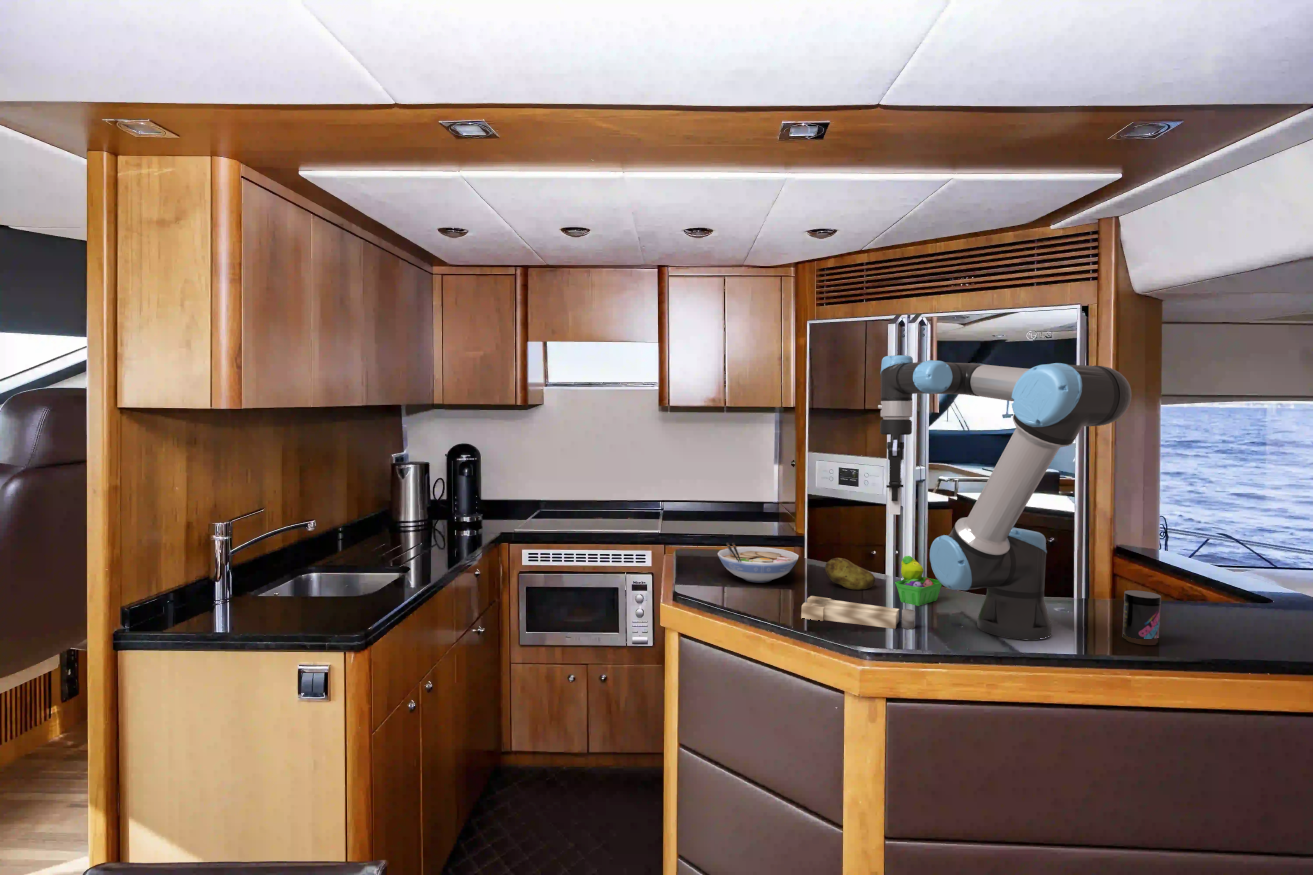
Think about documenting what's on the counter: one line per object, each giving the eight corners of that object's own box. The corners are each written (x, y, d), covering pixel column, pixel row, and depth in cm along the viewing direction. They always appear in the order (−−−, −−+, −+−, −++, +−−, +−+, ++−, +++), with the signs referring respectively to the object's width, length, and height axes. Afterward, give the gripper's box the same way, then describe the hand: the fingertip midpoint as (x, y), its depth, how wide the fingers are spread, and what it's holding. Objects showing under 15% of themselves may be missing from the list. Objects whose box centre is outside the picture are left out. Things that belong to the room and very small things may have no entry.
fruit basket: (920, 608, 194) (922, 563, 193) (889, 600, 200) (890, 557, 200) (944, 600, 201) (945, 557, 201) (912, 594, 208) (914, 551, 207)
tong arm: (899, 620, 181) (899, 607, 181) (896, 624, 178) (897, 611, 178) (810, 607, 191) (811, 595, 191) (806, 611, 188) (807, 598, 188)
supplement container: (1132, 646, 166) (1134, 597, 165) (1115, 636, 173) (1118, 589, 172) (1165, 647, 166) (1168, 598, 165) (1147, 637, 172) (1150, 590, 172)
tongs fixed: (915, 626, 178) (915, 609, 177) (913, 632, 173) (913, 615, 173) (805, 613, 187) (805, 597, 187) (801, 618, 183) (801, 602, 182)
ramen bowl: (806, 591, 208) (806, 561, 208) (719, 590, 209) (720, 559, 208) (791, 571, 233) (791, 543, 233) (714, 569, 234) (714, 542, 233)
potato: (870, 594, 207) (871, 564, 206) (822, 588, 212) (822, 559, 212) (876, 587, 214) (877, 558, 214) (829, 582, 220) (830, 553, 219)
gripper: (881, 418, 201) (880, 510, 201) (878, 418, 188) (877, 516, 189) (912, 418, 198) (910, 511, 199) (911, 418, 186) (909, 517, 186)
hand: (894, 513), depth 194 cm, fingers closed
